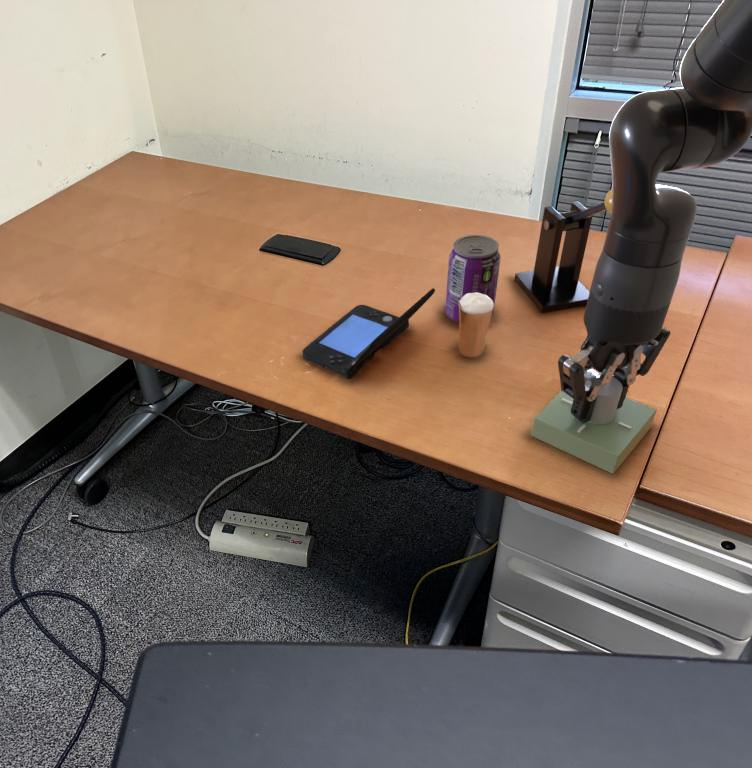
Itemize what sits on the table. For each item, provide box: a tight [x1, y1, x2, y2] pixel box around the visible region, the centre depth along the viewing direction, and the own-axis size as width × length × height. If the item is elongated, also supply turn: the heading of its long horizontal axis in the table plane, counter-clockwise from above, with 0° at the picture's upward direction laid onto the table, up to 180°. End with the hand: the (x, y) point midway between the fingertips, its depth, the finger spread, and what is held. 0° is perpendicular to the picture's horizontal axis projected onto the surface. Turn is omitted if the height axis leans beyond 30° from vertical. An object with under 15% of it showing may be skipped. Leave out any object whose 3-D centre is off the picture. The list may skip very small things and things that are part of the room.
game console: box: [301, 287, 436, 380], centre depth 99 cm, size 16×14×9 cm
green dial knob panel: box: [530, 389, 658, 475], centre depth 83 cm, size 10×10×3 cm
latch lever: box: [559, 188, 613, 232], centre depth 92 cm, size 17×4×4 cm
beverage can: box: [444, 234, 502, 323], centre depth 101 cm, size 7×7×12 cm
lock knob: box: [585, 377, 623, 425], centre depth 80 cm, size 4×4×5 cm
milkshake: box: [457, 292, 495, 359], centre depth 95 cm, size 4×5×10 cm
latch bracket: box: [514, 201, 594, 314], centre depth 103 cm, size 10×8×14 cm
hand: (596, 410), depth 82 cm, fingers closed on lock knob, 4 cm apart
